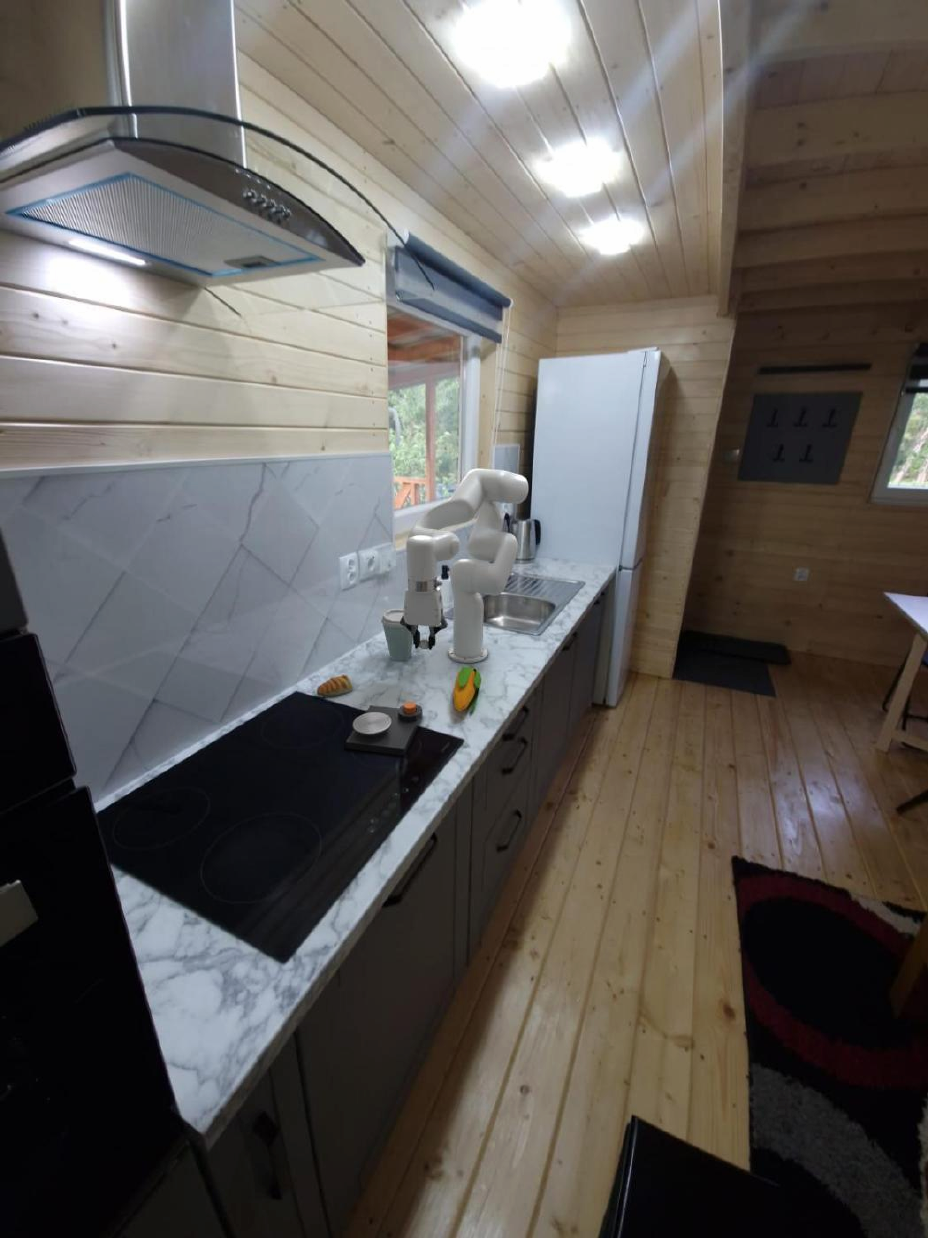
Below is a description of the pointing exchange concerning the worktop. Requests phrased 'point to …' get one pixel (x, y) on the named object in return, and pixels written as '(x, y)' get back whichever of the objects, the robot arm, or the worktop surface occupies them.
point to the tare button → (409, 707)
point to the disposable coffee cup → (397, 635)
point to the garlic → (424, 644)
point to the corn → (466, 688)
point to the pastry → (335, 686)
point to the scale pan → (372, 723)
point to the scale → (389, 732)
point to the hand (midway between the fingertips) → (424, 646)
